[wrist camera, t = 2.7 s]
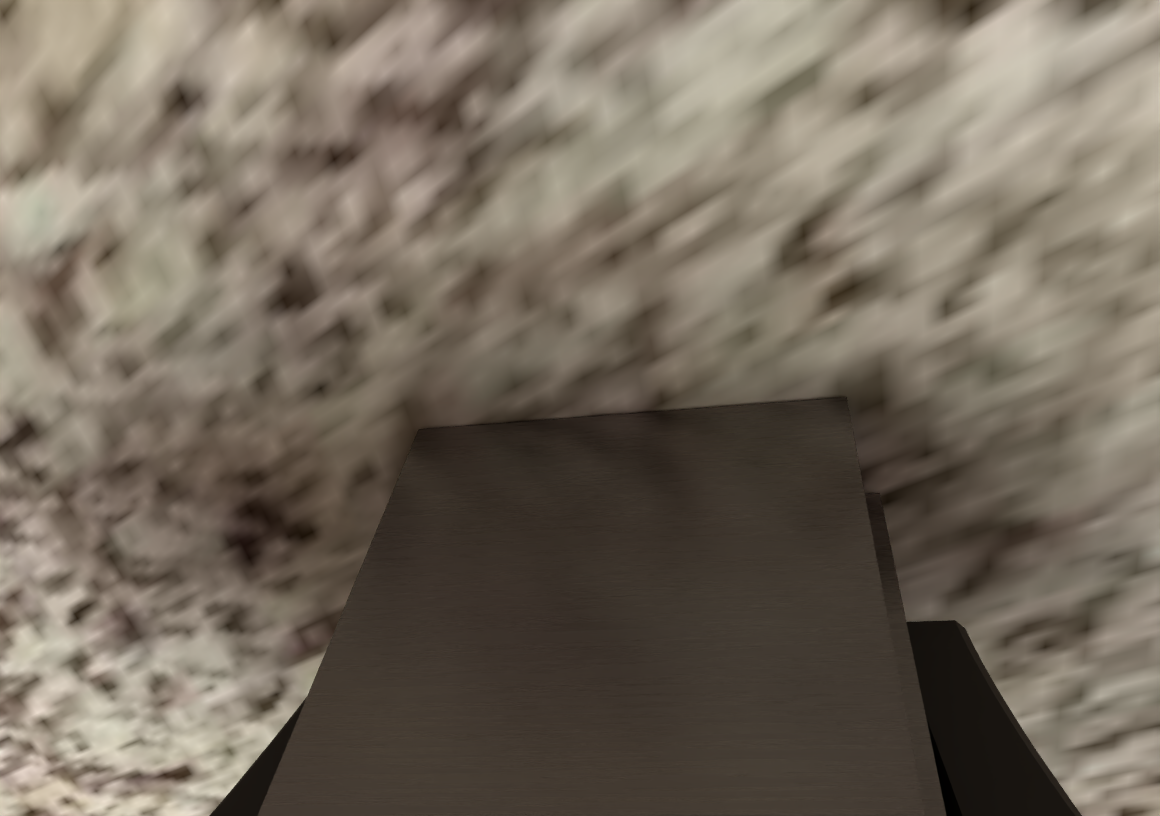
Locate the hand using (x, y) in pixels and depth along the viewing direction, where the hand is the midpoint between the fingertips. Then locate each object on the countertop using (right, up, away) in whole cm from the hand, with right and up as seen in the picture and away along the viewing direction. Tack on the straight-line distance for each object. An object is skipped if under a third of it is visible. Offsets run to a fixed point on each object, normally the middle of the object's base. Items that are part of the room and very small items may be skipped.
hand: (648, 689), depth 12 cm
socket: (0, +1, +1) cm, 2 cm away
